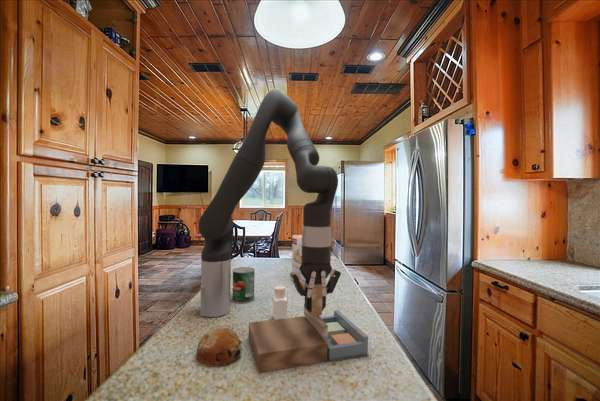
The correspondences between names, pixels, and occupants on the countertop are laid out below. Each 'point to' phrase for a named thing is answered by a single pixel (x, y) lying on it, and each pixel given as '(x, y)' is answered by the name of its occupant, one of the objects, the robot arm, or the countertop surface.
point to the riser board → (286, 343)
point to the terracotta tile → (342, 339)
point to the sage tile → (335, 329)
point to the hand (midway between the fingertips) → (314, 309)
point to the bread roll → (219, 347)
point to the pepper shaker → (279, 303)
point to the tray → (349, 348)
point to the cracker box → (297, 256)
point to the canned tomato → (243, 285)
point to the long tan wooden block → (317, 311)
